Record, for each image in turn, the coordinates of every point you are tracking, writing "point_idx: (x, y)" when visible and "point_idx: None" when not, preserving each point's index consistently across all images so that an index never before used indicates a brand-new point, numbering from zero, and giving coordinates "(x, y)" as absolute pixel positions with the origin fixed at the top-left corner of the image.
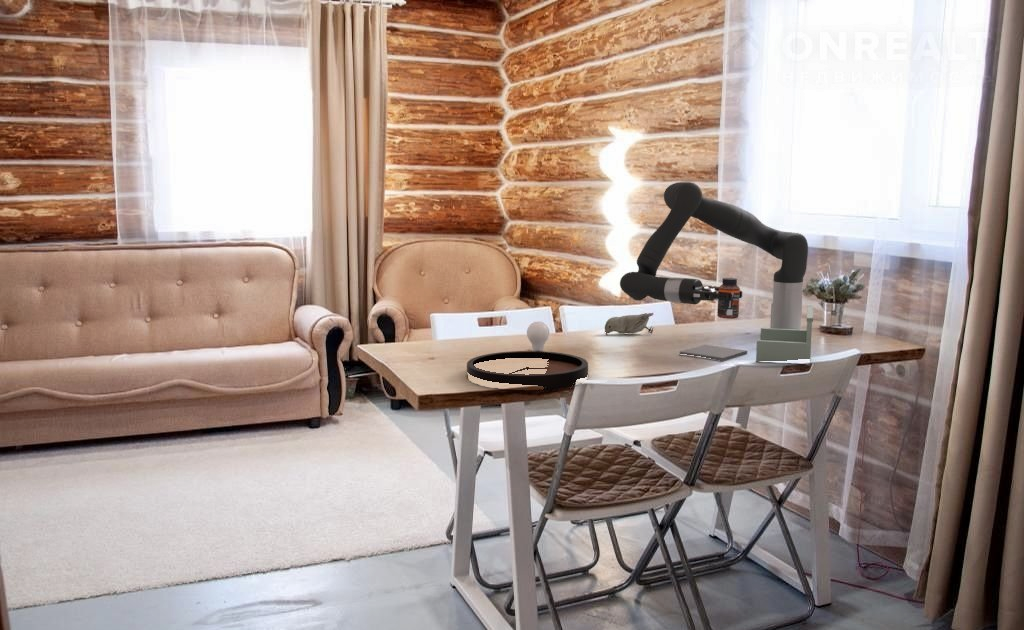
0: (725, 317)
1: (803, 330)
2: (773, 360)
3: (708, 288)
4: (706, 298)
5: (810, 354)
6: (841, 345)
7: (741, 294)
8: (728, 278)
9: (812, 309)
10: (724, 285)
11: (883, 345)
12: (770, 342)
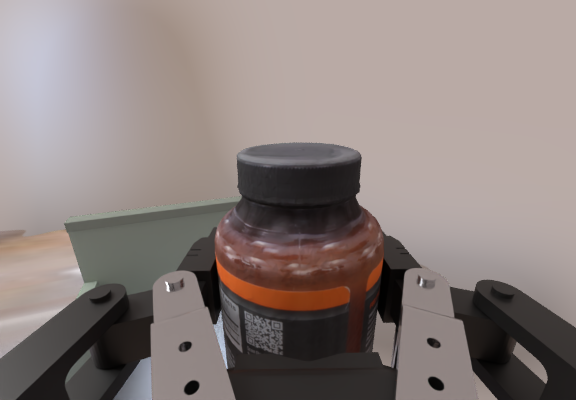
0: None
1: (93, 285)
2: None
3: (459, 362)
4: (539, 396)
5: None
6: (25, 293)
7: None
8: (310, 151)
9: (132, 209)
10: (361, 210)
11: (34, 253)
12: None
